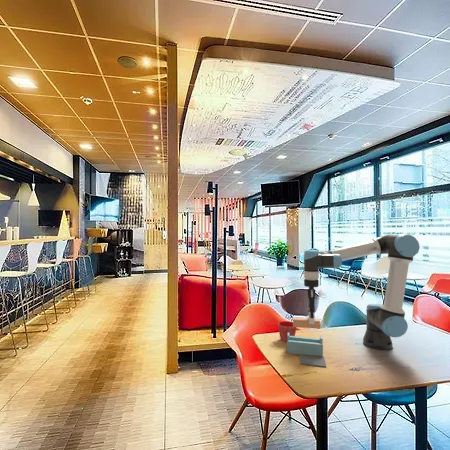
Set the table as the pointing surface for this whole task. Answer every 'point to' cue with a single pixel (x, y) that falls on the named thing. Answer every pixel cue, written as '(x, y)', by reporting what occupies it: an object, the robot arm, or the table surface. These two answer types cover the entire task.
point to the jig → (305, 346)
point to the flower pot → (286, 330)
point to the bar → (305, 323)
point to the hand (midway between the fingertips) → (311, 322)
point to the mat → (312, 361)
